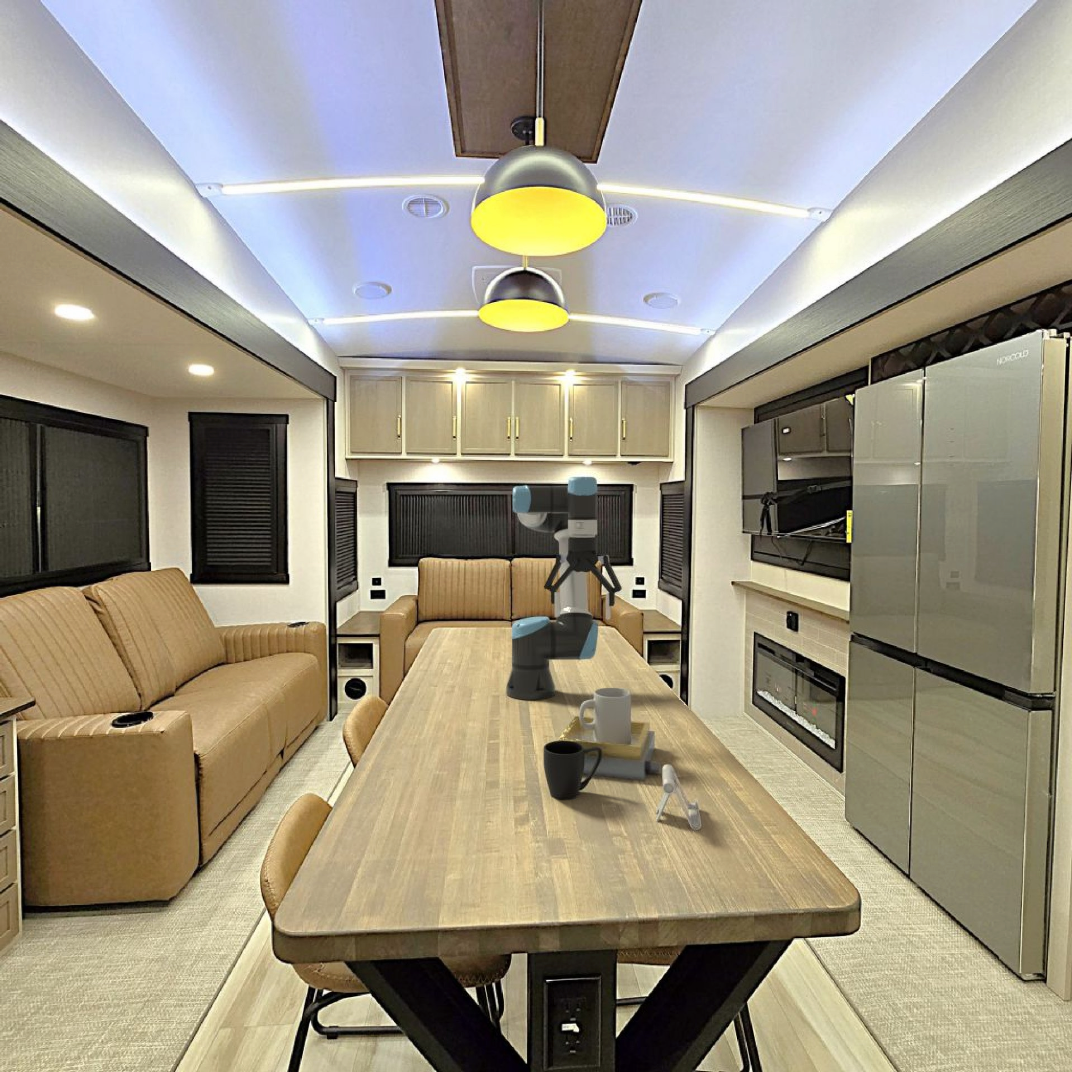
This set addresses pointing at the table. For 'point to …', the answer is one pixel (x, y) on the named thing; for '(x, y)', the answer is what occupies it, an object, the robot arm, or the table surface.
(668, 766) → the portable electronic device stand
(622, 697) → the mug
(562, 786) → the mug
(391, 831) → the table surface
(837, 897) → the table surface
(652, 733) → the yellow and grey tray
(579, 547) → the robot arm
